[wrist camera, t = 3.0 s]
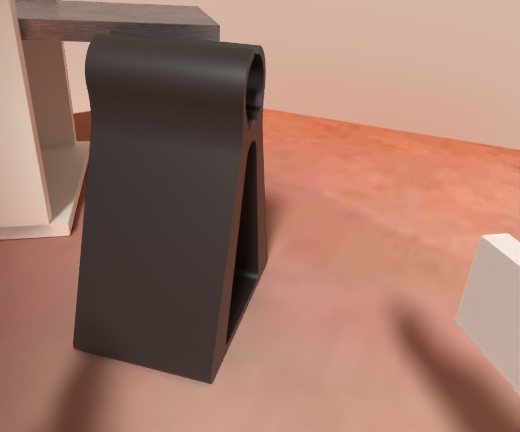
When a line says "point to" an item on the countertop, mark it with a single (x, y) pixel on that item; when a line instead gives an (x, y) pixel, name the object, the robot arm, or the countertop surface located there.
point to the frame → (36, 136)
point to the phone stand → (171, 200)
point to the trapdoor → (110, 20)
